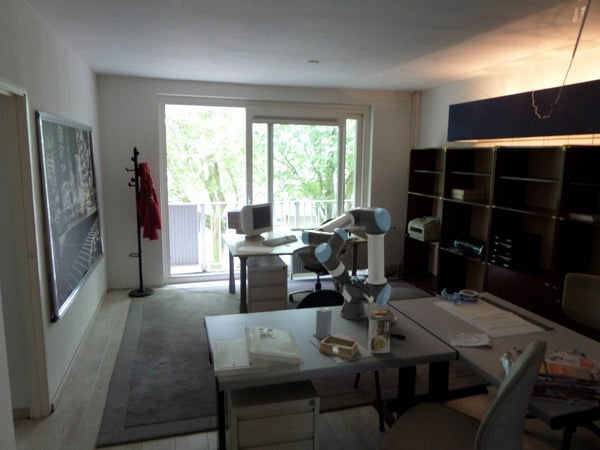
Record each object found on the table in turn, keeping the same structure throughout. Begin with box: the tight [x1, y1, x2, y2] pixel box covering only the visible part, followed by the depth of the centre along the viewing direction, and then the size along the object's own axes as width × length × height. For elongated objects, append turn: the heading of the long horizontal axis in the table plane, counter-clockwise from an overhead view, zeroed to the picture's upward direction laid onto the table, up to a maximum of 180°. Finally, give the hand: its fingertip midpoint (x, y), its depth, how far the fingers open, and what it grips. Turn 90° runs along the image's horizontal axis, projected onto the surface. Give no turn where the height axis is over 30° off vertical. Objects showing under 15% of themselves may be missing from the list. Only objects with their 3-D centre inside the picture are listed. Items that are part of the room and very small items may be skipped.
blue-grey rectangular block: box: [312, 307, 333, 340], centre depth 211 cm, size 5×10×15 cm, turn 64°
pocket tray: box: [318, 335, 359, 359], centre depth 195 cm, size 10×16×4 cm
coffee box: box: [367, 314, 392, 354], centre depth 196 cm, size 9×6×16 cm
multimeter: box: [366, 298, 394, 339], centre depth 210 cm, size 15×10×20 cm
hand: (360, 300), depth 203 cm, fingers open, 13 cm apart
